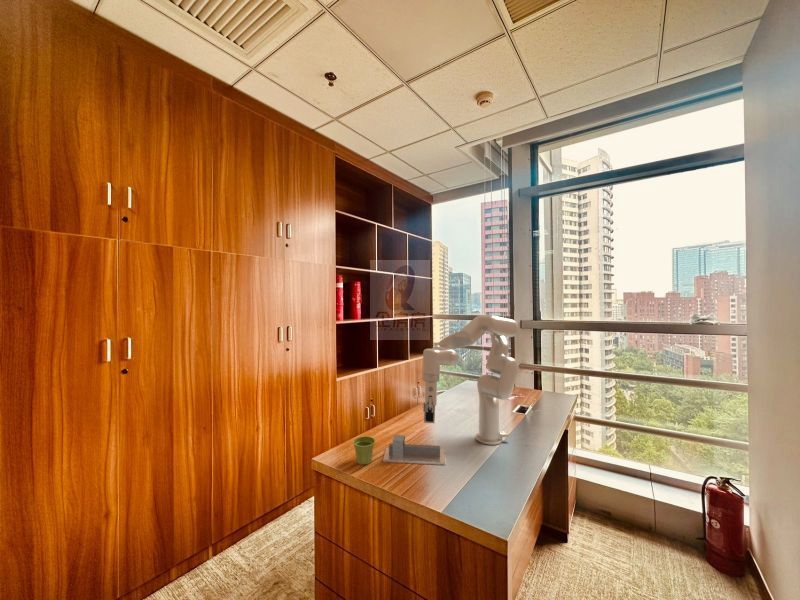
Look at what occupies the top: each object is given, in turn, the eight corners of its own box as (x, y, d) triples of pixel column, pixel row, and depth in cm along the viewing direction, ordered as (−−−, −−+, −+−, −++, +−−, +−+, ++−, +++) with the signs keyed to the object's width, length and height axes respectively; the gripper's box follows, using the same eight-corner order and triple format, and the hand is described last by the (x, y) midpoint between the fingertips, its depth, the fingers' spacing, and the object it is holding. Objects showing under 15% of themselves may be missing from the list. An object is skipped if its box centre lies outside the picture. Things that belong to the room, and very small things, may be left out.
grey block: (434, 418, 140) (434, 402, 140) (434, 423, 134) (435, 406, 134) (423, 417, 141) (423, 402, 141) (422, 422, 135) (423, 406, 135)
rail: (443, 452, 141) (443, 434, 141) (445, 465, 130) (445, 445, 130) (386, 449, 143) (386, 431, 143) (383, 461, 132) (383, 442, 132)
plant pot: (366, 469, 126) (366, 448, 126) (348, 463, 131) (348, 442, 131) (379, 459, 134) (379, 439, 134) (362, 454, 139) (362, 434, 139)
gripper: (440, 382, 129) (438, 426, 129) (438, 373, 146) (437, 412, 146) (422, 381, 130) (420, 425, 129) (422, 372, 147) (420, 411, 146)
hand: (429, 418), depth 137 cm, fingers closed on grey block, 6 cm apart
